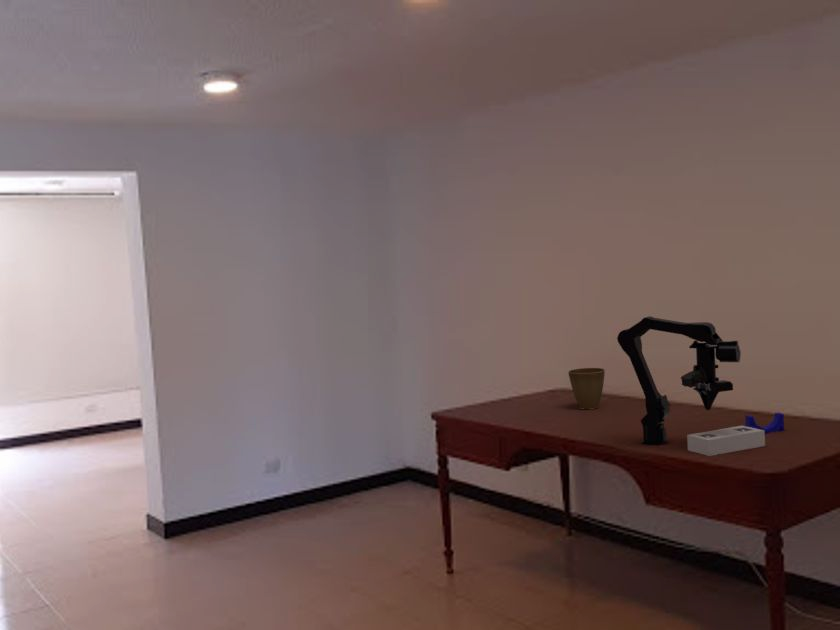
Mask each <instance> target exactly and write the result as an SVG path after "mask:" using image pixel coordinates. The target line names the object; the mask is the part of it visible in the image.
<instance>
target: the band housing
mask: <svg viewBox="0 0 840 630" xmlns="http://www.w3.org/2000/svg"><path fill="white" fill-rule="evenodd" d="M739 428H747V429H750V431H744V432H741V431H737V430H736V429H739ZM704 434H712V435H715V437H710V438H705V437H701V435H704ZM686 437H687V438H686V439H687V442H686V443H687V451H689V452H693V453H697V454H700V455H702V456H704V455H705V456H707V457H713V456H718V454H719V455H722V454H723V455H724V454H729V453H733V452H734V453H735V452H740V451H745V450H750V449H757V448H762V447H766V435H765V432H764V430H760V429H755V428H751V427H746V425H737V426H731V427H726V428H720V429H715V430H708V431H702V432H697V433H690V434H687V435H686Z"/></svg>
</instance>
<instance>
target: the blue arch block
mask: <svg viewBox="0 0 840 630" xmlns="http://www.w3.org/2000/svg"><path fill="white" fill-rule="evenodd" d="M784 417H785V416H784V413H782V412H774V418H773V420H772V421H771V422H770V424H768V425H766V426H760V425H758V424H757V423H756V421H755V418H754V416H753V415H751V414H746V415H745V426H746V427H751V428H755V429H760V430H764V432H765V434H770V433H776V432H785V418H784Z"/></svg>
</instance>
